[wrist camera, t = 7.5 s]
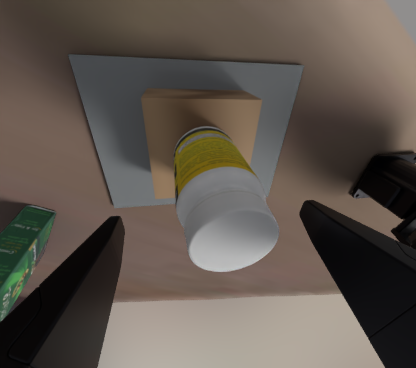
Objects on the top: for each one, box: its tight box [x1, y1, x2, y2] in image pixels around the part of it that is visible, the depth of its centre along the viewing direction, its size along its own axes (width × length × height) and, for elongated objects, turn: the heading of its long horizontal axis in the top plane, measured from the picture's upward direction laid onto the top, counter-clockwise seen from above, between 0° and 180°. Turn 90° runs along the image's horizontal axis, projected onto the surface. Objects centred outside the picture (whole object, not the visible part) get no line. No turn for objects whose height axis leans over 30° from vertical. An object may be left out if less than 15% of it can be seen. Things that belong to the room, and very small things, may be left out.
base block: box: [141, 88, 262, 199], centre depth 16 cm, size 8×8×4 cm
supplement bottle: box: [173, 126, 279, 272], centre depth 11 cm, size 5×5×8 cm
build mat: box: [68, 54, 304, 208], centre depth 19 cm, size 18×14×1 cm
